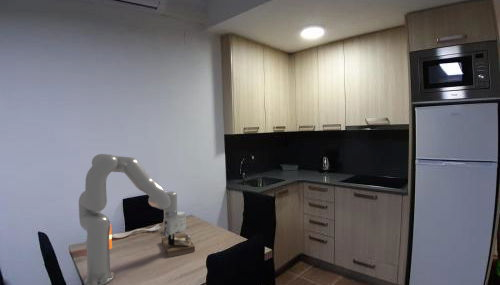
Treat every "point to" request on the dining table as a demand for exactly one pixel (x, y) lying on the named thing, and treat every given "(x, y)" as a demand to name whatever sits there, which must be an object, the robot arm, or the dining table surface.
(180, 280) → the dining table surface
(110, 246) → the orange juice
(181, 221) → the supplement box
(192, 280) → the dining table surface
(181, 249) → the wooden tray
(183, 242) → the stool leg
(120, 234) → the cream wavy strip
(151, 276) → the dining table surface
